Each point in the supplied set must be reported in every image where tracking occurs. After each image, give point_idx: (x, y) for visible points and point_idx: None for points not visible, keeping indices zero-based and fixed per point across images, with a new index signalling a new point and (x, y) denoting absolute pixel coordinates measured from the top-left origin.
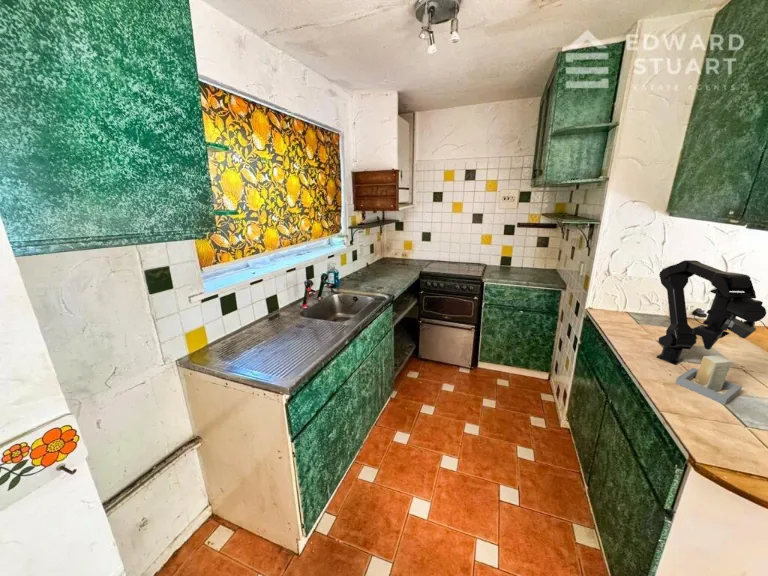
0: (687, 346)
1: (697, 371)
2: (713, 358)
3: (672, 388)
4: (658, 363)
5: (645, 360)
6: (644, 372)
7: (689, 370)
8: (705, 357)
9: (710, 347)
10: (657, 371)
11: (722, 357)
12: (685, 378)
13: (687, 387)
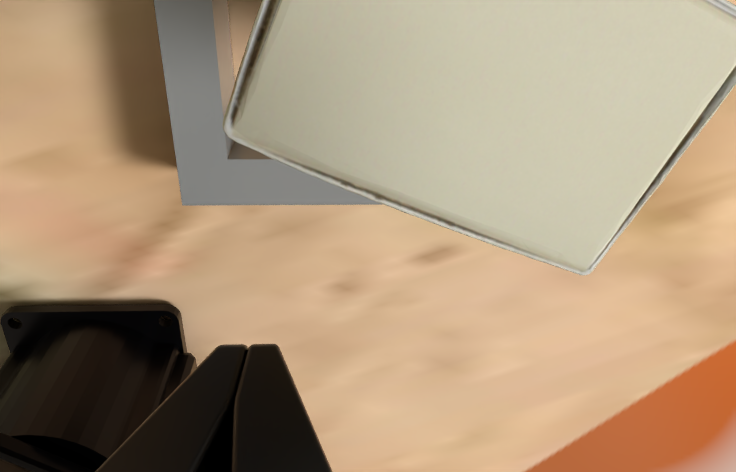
0: (11, 463)
1: (225, 147)
2: (564, 138)
3: (706, 145)
4: (297, 376)
5: (345, 438)
6: (584, 363)
7: (303, 198)
8: (613, 238)
9: (291, 384)
10: (468, 325)
11: (310, 45)
12: None
13: None
